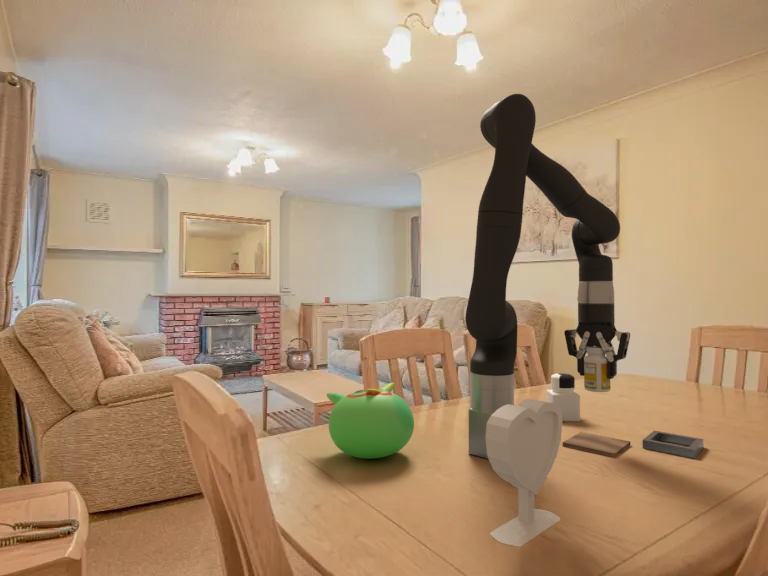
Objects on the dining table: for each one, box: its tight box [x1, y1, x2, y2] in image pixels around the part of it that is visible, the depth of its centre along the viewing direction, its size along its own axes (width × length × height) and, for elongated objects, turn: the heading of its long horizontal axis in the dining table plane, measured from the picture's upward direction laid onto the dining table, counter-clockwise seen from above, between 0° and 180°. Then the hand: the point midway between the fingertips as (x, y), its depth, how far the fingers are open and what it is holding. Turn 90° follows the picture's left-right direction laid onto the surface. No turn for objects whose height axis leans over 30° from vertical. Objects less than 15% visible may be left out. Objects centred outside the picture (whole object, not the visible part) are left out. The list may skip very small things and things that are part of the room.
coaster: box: [562, 431, 631, 458], centre depth 107 cm, size 11×11×1 cm
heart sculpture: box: [485, 398, 563, 547], centre depth 70 cm, size 16×5×18 cm, turn 133°
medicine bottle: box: [546, 372, 581, 423], centre depth 130 cm, size 7×7×12 cm
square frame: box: [642, 430, 704, 459], centre depth 105 cm, size 10×10×2 cm
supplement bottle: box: [583, 346, 611, 393], centre depth 107 cm, size 5×5×10 cm
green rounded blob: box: [326, 382, 415, 460], centre depth 101 cm, size 18×17×15 cm
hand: (596, 376), depth 107 cm, fingers closed on supplement bottle, 5 cm apart
